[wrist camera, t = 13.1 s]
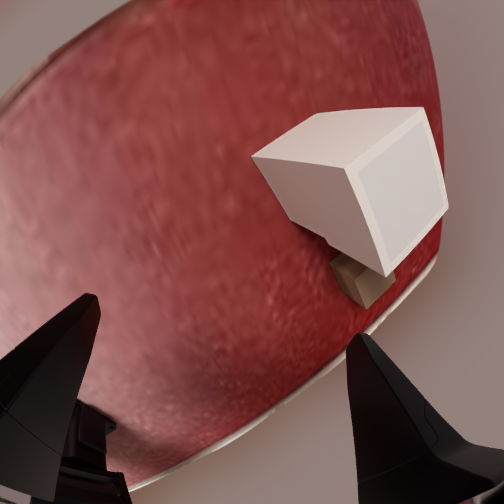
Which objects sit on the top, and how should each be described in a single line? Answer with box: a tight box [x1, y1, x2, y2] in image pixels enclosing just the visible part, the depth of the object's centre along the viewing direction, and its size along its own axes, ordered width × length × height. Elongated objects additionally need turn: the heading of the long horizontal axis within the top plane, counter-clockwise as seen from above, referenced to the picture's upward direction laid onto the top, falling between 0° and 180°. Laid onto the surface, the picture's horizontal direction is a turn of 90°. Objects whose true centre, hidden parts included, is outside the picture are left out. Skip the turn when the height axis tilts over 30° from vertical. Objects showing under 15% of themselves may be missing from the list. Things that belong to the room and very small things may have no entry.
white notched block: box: [251, 107, 449, 277], centre depth 16 cm, size 6×6×10 cm
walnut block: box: [329, 252, 396, 309], centre depth 23 cm, size 4×4×4 cm
